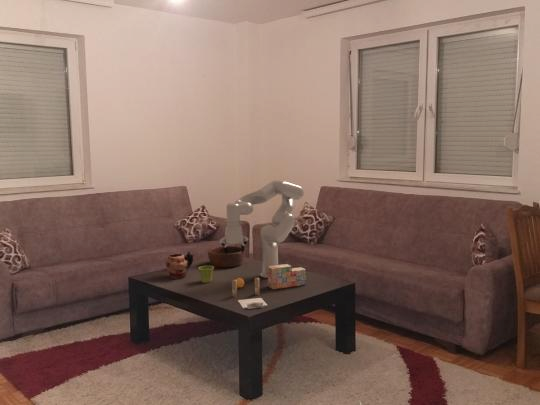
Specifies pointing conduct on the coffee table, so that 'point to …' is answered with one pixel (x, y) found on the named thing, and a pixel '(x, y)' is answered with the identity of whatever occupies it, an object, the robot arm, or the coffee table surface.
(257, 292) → the post
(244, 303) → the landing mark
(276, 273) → the stack of blocks
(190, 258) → the controller
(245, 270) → the coffee table surface
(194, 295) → the coffee table surface
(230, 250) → the wooden bowl
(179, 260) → the decorative planter
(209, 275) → the plant pot
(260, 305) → the stopper wall
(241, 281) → the ball
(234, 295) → the post
